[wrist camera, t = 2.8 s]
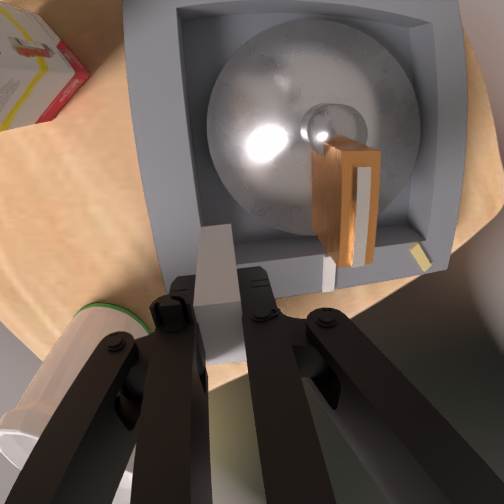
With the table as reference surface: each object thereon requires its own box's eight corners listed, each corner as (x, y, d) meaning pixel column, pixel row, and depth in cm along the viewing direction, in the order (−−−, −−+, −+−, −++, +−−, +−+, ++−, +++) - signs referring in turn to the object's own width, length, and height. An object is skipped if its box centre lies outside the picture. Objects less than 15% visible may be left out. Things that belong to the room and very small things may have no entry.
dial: (198, 30, 15) (188, -7, 9) (401, 37, 16) (468, 25, 10) (220, 234, 22) (222, 295, 15) (400, 215, 23) (455, 259, 16)
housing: (139, -3, 15) (120, -25, 11) (424, 6, 16) (460, -3, 12) (177, 276, 25) (171, 312, 21) (420, 245, 26) (448, 271, 22)
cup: (62, 363, 29) (22, 479, 15) (50, 269, 24) (-34, 403, 10) (167, 387, 31) (159, 516, 18) (182, 299, 26) (169, 468, 13)
